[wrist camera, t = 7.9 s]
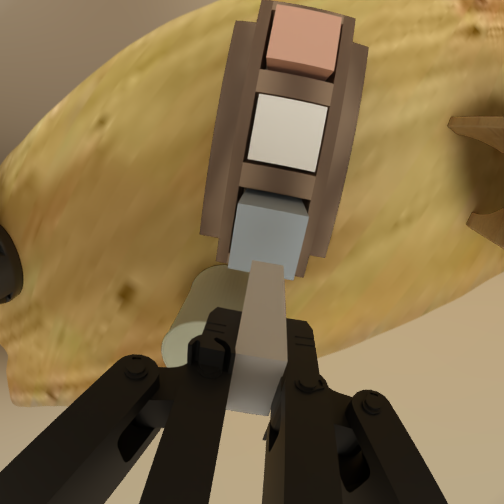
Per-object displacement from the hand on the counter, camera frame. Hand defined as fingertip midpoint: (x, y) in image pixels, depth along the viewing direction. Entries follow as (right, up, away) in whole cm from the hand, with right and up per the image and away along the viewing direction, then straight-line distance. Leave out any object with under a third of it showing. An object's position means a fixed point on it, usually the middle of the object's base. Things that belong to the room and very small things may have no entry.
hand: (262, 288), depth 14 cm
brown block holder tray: (+3, +14, +14) cm, 20 cm away
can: (-4, -4, +22) cm, 22 cm away
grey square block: (+1, +5, +13) cm, 14 cm away
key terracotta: (+4, +20, +9) cm, 22 cm away
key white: (+3, +13, +12) cm, 17 cm away
